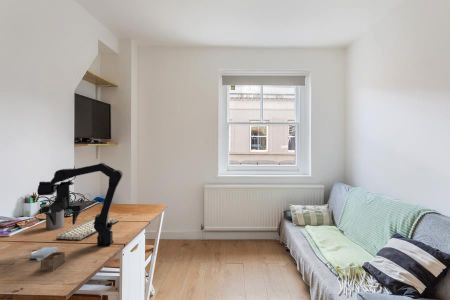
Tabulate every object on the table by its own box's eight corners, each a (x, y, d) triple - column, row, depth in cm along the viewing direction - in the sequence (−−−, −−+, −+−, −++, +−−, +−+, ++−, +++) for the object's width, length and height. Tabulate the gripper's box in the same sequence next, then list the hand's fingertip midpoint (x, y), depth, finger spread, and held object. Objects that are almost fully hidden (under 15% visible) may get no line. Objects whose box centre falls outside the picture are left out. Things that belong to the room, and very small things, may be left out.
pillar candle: (42, 228, 165) (42, 204, 165) (58, 224, 174) (58, 201, 174) (51, 231, 161) (51, 206, 160) (67, 226, 169) (67, 203, 169)
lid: (57, 249, 130) (57, 246, 130) (44, 258, 120) (44, 255, 120) (44, 249, 130) (44, 247, 130) (29, 258, 120) (29, 255, 120)
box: (64, 261, 118) (64, 251, 118) (53, 271, 110) (53, 260, 109) (53, 262, 118) (53, 252, 118) (40, 271, 109) (40, 260, 109)
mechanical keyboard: (85, 242, 143) (85, 236, 143) (52, 241, 145) (52, 235, 145) (119, 222, 181) (119, 217, 181) (93, 221, 183) (93, 217, 183)
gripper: (33, 198, 125) (34, 231, 125) (74, 196, 126) (75, 229, 127) (47, 193, 136) (48, 223, 136) (85, 192, 137) (86, 222, 138)
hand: (64, 224), depth 134 cm, fingers open, 9 cm apart
